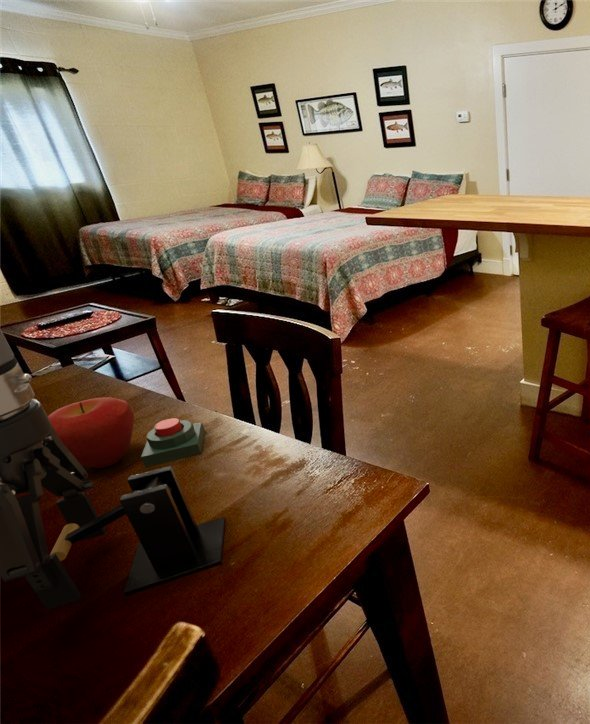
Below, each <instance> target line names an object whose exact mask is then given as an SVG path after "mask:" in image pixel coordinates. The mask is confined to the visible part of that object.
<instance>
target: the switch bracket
mask: <svg viewBox="0 0 590 724" xmlns="http://www.w3.org/2000/svg"><path fill="white" fill-rule="evenodd" d="M156 477H159V478H161V479H162V480H163V481H164V482H165V483H166V484H165V485H161V486H157V487H153V488H149V489H146V490H142V491H138V492H134V490H135V489H136V488H137V487H139V486H141V485H143V484H145V483H147V482H148V481H150V480H152V479H154V478H156ZM126 480H127V483H128V486H129V487H130V489H131V491H132V492H130V493H126V494H122V495H121V496H120V499H119V503H120V505H122V507H123V509H124V511H125V513H126V515H125V516H126V517H127V519H128V520H129V522H130V524H131V526H132V528H133V531H134V533H135V535H136V536H137V538H138V540H139V541H138V543H137V547H136V551H135V554H134V557H133V560H132V564H131V567H130V570H129V574H128V577H127V581H126V584H125V586H124V591H123V594H124V596H125V597H128V596H130V595H133V594H136V593H139V592H142V591H145V590H148V589H151V588H154V587H157V586H160V585H163V584H166V583H169V582H172V581H175V580H178V579H182V578H184V577H188V576H190V575H193V574H196V573H199V572H202V571H205V570H208V569H211V568H215V567H217V566H220V565H222V564H223V553H224V545H225V544H224V542H225V541H224V540H225V533H226V523H227V522H226V521H227V519H226V517H225V516H222V517H219V518H216V519H212V520H209V521H205V522H201V523H198V524H197V523H196V522H197V521H196V519H195V518H194V515H193V513H192V511H191V508H190V505H189V503H188V501H187V498H186V497H185V493H184V492H183V489H182V486H181V484H180V482H179V480H178V477H177V475H176V473H175V471H174V468H173V466H172V465H169V466H165V467H162V468H161V467H160V468H158V469H157V468H156V469H152V470H149V471H144V472H140V473H137V474H133V475H129V476H128V477H127V479H126ZM167 484H168V485H169V486H170V487H171V488H172V490H171V493H170V491H169V488H168V486H167Z"/></svg>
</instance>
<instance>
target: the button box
mask: <svg viewBox="0 0 590 724" xmlns="http://www.w3.org/2000/svg"><path fill="white" fill-rule="evenodd" d="M179 420H180V423H181V425H182V430H181V431H180V432H178V433H176V434H173V435H170V436H166V437H159V436H158V435H157V433H156V430H155V428H154V427H153V429H151V430H150V431H149V432H147V434H146V437H145V439H146V442H145V444H144V448H143V450H142V453H141V456H140V459H141V461H142V463H143V465H144V467H145V468H148V467H149V468H150V467H152V466H156V465H160V464H165V463H169V462H173V461H177V460H181V459H185V458H189V457H193V456H197V455H202V452H203V447H204V442H205V441H204V440H205V435H206V429H205V427H204V424H203V422H195V423H193V422H191V421H190V420H187V419H182V420H181V419H179Z"/></svg>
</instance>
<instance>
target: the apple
mask: <svg viewBox="0 0 590 724" xmlns="http://www.w3.org/2000/svg"><path fill="white" fill-rule="evenodd" d="M47 416H48V418H49V420H50V422H51V424H52V426H53V428H54V430H55V432H56V434H57V436H58V438H59V439H60V440H61V441H62V443H63V444H64V445H65V446H66V447H67V449H68V450H69V451H70V452H71V453H72V455H73V456H74V457H75V458H76V459H77V461H78V462H79V463H80V464H81V465H82V467H88V468H95V469H103V468H107V467H110V466H113V465H115V464H117V463H118V462H119V461H121V459H122V458H123V457H124V456H125V455H126V454H127V453H128V451H129V449H130V447H131V442H132V437H133V431H134V421H135V415H134V412H133V411H132V409H131V406H130V405H129V403H128V402H127V401H126V400H123V399H119V398H116V397H109V396H105V397H103V396H102V397H95V398H89V399H85V400H81V401H77V402H74V403H70V404H67V405H64V406H62V407H59V408H58V409H56V410H55V411H53V412H51V413H50V414H49V415H47Z"/></svg>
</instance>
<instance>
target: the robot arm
mask: <svg viewBox="0 0 590 724" xmlns="http://www.w3.org/2000/svg"><path fill="white" fill-rule="evenodd" d="M32 380H33V377H32V376H31V374H29V373H25V372H24V371H23V369H22V367H21V365H20V364H19V361H18V360H17V358H16V356H15V353H14V352H13V350H12V348H11V346H10V344H9V342H8V341H7V338H6V336H5V334H4V333H3V331H2V329H1V328H0V577H1V579H2V581H3V582H5V583H6V582H11V581H13V580H17V579H20V578H23V577H24V578H25V579H26V581H27V582H28V584H29V585H30V587H31V589H32V590H33V591H34V592H35V594H36V596H37V597H38V599H39V600H40V602H41V603H42V604H43V606H44V608H45V609H46V610H47V611H49V610H53V609H56V608H59V607H63V606H64V605H68V604H71V603H74V602H77V601H79V600H80V598H81V595H82V594H81V592H80V591H79V589H78V588H77V586H76V585H75V584H76V583H74V581H73V579H72V578H71V576H70V574H69V573H68V571H67V570H66V568H65V566H64V565H63V563H62V561H60V560H59V559H58V557H57V555H56V554H53V555H50V552H49V547H48V542H47V538H46V532H45V528H44V523H43V517H42V511H41V508H40V503H39V502H40V500H41V499H42V498H43V497H44V491H43V489H45V490H46V491H48V492H50V493H52V494H53V495H55V497H58V498H59V499H57V501H56V502H55V505H56V506H57V508H58V509H59V511H60V513H61V515H62V517H63V518H64V520H65V522H66V523H67V524H71V523H74V524H77V525H78V526H79V528H80V527H81V526H83V525H85V524H87V523H89V522H90V521H92V520H94V519H96V518H98V517H100V515H99V514H98V512H97V511H96V509H95V507H94V505H93V503H92V501H91V500H90V498H89V496H88V494H87V492H86V491H89V490H92V489H93V488H94V482H93V481H92V480H87V479H88V476H89V474H88V472H87V470H86V469H85V467H84V466H82V465H81V464H80V463H79V462H78V461H77V459H76V458H75V457H74V456H73V455H72V453H71V452H70V451H69V450H68V449H67V447H66V446H65V445H64V444H63V443H62V441H61V440H60V439H59V438H58V436H57V434H56V432H55V430H54V428H53V426H52V424H51V422H50V420H49V418H48V416H49V415H47V412H46V411H45V409H44V407H43V405H42V403H41V401H39V400H37V399H35V398H34V397H35V396H36V395H35V392H34V390H33V388H32V386H31V382H32ZM83 480H86V481H83ZM24 493H25V495H22V496H18V497H16V496H17V495H21V494H24ZM26 493H28V494H26ZM62 497H63V498H62ZM106 532H107V529H106V526H104V527H102V528H101V529H99V530H97V531H95V532H93V533H92V534H90V535H88V536H86V537H84V538H83V539H81V540H79V541H77V543H78V542H83V541H87V540H91V539H93V538H97V537H100V536H104V535H106ZM49 555H50V556H49Z"/></svg>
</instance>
